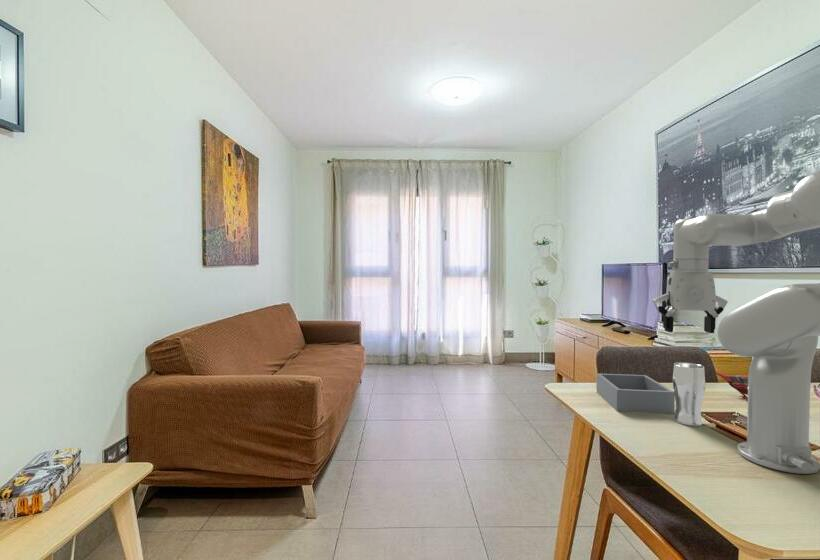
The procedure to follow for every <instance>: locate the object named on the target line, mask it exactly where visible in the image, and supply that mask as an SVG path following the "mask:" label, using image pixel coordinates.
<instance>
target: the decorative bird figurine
mask: <svg viewBox="0 0 820 560" xmlns="http://www.w3.org/2000/svg"><path fill="white" fill-rule="evenodd" d="M713 373H715V374H716V375H717V376H719V377H721V378H722V379H724V380H725V381H726V382H727V384H729V386H730V387H731V388H733V389H735V391H737V392H738V393H740V395H739V397H741V399H745V400H747V401H748V375H749V374H747V375H746V374H744V375H743V374H739V375H738V374H737V375H729V376H728V375H725V374H722V373H720V372H717V371H715V370H713Z"/></svg>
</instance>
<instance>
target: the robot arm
mask: <svg viewBox="0 0 820 560" xmlns="http://www.w3.org/2000/svg"><path fill="white" fill-rule="evenodd" d="M765 208H766V209H760V210H759V211H754V212H751V213H746V214H745V213H744V214H733V213H708V214H703V215H700V216H697V217H690V218H688V217H687V218H682V219H678V220H676V222H674V225H673V250H672V251H673V253H672V255H673V257H672V258H673V259H672V261H669V262H667V267H668V268H671V270H672V271H670V272H669V276H668V280H667V285H666V293H664V294H662V295H659V296H657V297H655V298H653V299H652V302H653V304H654V306H655V309H656V310H657V311H658V312H659V313H660V314H661V316H663V317H662V318H663V319H662V322H663V323H662V327H663V328H664V331H665V332H667V333H673V332H674V317H673V314H674V313H675V312H676V311H677V310H678V311H697V312H698V311H702V312H703V313H704V314H706V315H705V316H704V318H703V330H704V332H706V333H708V334H714V333H715V329H716V319H717V318H719V315H720V314H721V313H722V312H724V310H725V309H724V308H726V305H727V304H728V300H727V299H725V298H722V297H721V296H718V295H717V294H716V284H715V278H714V275H713V272H712V271H709V259H710V258H709V257H710V252H709V251H710V246H718V247H719V246H734V247H735V246H738V247H741V246H748V245H749V246H750V245H755V244H760V243H765V242H770V241H775V240H778V239H781V238H784V237H787V236H790V235H791V234H795V233H799V232H800V233H801V232H805V231H809V230H815V229H819V228H820V170H818V171H816V172H813V173H810V174H809V175H807V176H805V177H804V178H802V179H801V180H800V181H799V182H798V183H797V184H796V185H795V186H794V188H793V189H791V190H787V191H783V192H780V193H777V194H775V195H773V197H771V198H770V199H769V201H768V202H767V204H766V207H765ZM664 301H665V305H666V307H664V305H663V302H664ZM716 333H717V338H718V341H719V343H720V345H721V346H722V347H723V348H724V349H726V351H728V352H729V353H731V354H733V355H736V356H739V357H740V356H741V357H745V358H752V360H751V362H750V364H749V369H748V374H747V375H748V395H747V397H748V400H747V419H746V420H747V425H746V441H742V442H739V443H738V444H737V445H736V446H737V452H738V454H739V455H740V456H742V458H745V459H746V460H748V461H749V462H753V463H754V464H757V465H760V466H761V467H762V466H763V467H766V468H769V469H772V470H776V471H780V472H785V473H791V474H800V475H807V474H808V475H810V474H815V473H818V472H819V470H820V462H819V461H817V460H816V459H815V458H814V457H812V454H813V453H812V448H810V447H809V446H810V444H809V443H810V408H811V407H810V406H811V405H810V404H811V403H810V402H811V379H812V377H811V376H812V368H813V363H814V357H815V354H816V352H817V347H818V343H819V336H820V282H819V283H793V284H788V285H783V286H779V287H777V288H775V289H772V290H770V291H768V292H766V293H764V294H762V295H760V296H758V297H756V298H754V299H752V300H751V301H748V302H747V303H745V304H743V305H741V306H739V307H736V309H733V310H731V311H730V312H728V313H727V314H726V315H725V316H724V317H723V318H722V319H721V320H720V322H719V324H718V327H717V332H716Z"/></svg>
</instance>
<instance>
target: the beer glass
mask: <svg viewBox="0 0 820 560" xmlns="http://www.w3.org/2000/svg"><path fill="white" fill-rule="evenodd" d="M672 388H673V392H674V395H675V399H674V401H675V407H676V408H675V412H674V417H673V420H674V421H675V422H676V423H678V424H681V425H684V426H688V427H701V426H703V420H702V415H701V413H702V412H701V411H702V405H703V404H702V403H703V400H704V396H705V390H706V370H705V366H704V365H702V364H697V363H692V362H674V363H673V372H672Z"/></svg>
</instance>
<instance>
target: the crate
mask: <svg viewBox="0 0 820 560" xmlns="http://www.w3.org/2000/svg"><path fill="white" fill-rule="evenodd" d="M596 391H597V392H598V393H599V394H600V395H601V397H602V398H603V400H605V401H606V403H607V404H608V405H610V406H611V408H613V409H614V410H615V411H616V412H628V413H629V412H631V413H633V412H634V413H635V412H636V413H649V412H650V413H652V414H653V413H655V414H674V415H675V395H674V390H672V389H670V388H668V387H666V386H665V385H663V384H661V382H658V381H656V380H654V379H653V378H651V377H649V376H648V375H647V374H644V375H643V374H622V373H621V374H619V373H596ZM597 392H596V393H597ZM598 393H597V394H598ZM599 394H598V395H599Z"/></svg>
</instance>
